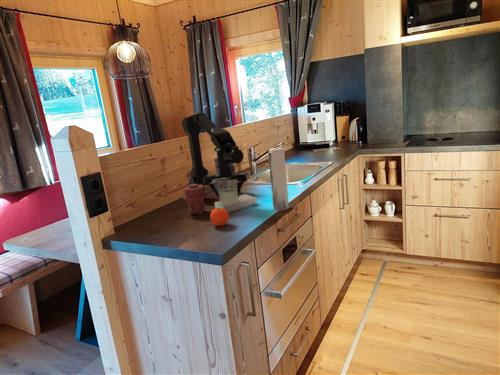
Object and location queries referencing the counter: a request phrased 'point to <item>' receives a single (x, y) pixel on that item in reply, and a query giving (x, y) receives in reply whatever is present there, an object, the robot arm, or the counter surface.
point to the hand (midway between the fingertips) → (228, 197)
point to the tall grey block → (278, 179)
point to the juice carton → (224, 183)
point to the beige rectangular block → (238, 203)
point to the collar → (228, 196)
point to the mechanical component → (195, 198)
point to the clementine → (219, 216)
